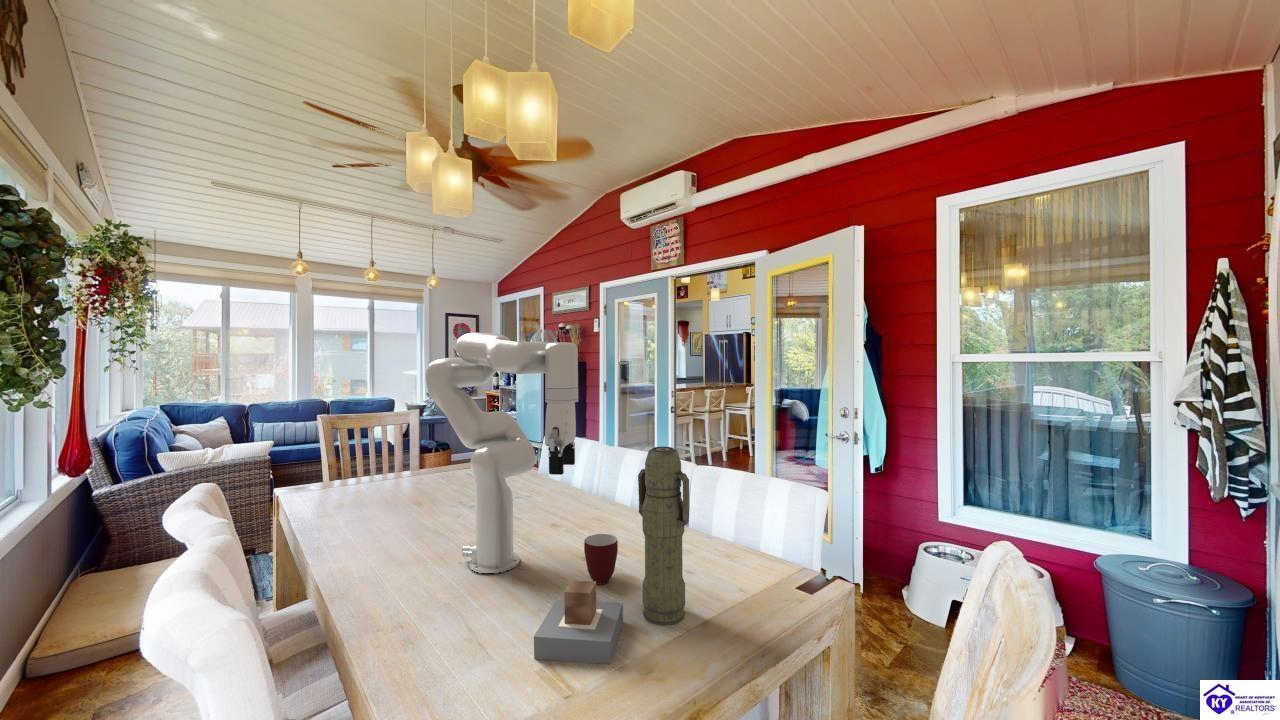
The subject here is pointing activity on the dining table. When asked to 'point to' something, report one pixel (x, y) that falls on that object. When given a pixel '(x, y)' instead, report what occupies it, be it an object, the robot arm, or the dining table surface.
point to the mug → (601, 556)
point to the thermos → (663, 534)
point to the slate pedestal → (579, 635)
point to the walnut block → (580, 602)
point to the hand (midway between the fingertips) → (562, 469)
